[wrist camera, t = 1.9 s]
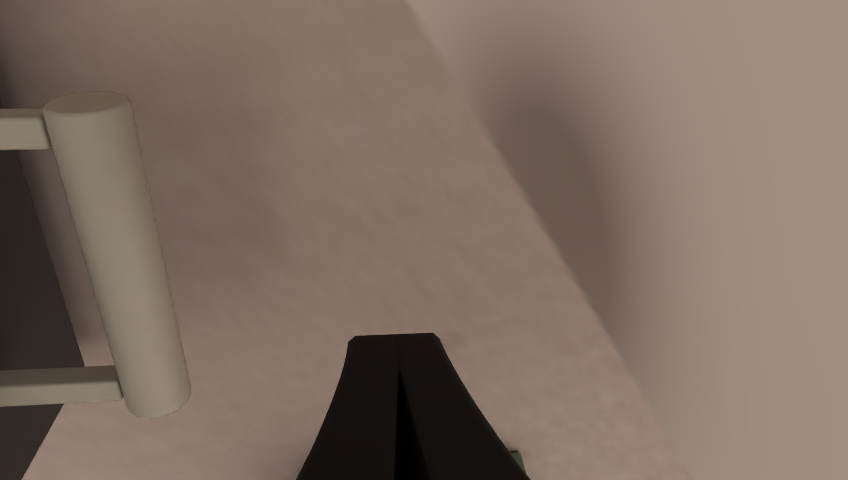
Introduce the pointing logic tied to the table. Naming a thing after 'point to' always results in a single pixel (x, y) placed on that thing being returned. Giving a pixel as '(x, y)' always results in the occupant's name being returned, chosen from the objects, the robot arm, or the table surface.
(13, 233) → the drawer
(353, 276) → the table surface
